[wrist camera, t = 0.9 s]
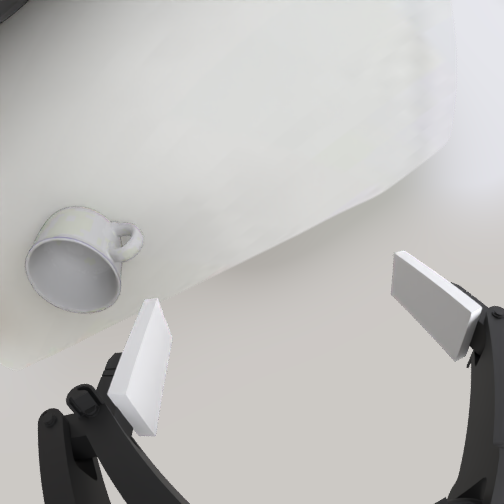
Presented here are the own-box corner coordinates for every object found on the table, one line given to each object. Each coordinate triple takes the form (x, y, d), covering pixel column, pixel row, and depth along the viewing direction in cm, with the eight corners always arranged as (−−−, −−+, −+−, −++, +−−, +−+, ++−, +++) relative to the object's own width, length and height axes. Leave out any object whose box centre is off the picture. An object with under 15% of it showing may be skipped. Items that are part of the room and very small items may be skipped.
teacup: (67, 270, 31) (59, 320, 26) (28, 208, 24) (5, 258, 18) (160, 246, 33) (164, 298, 28) (134, 171, 26) (126, 219, 20)
